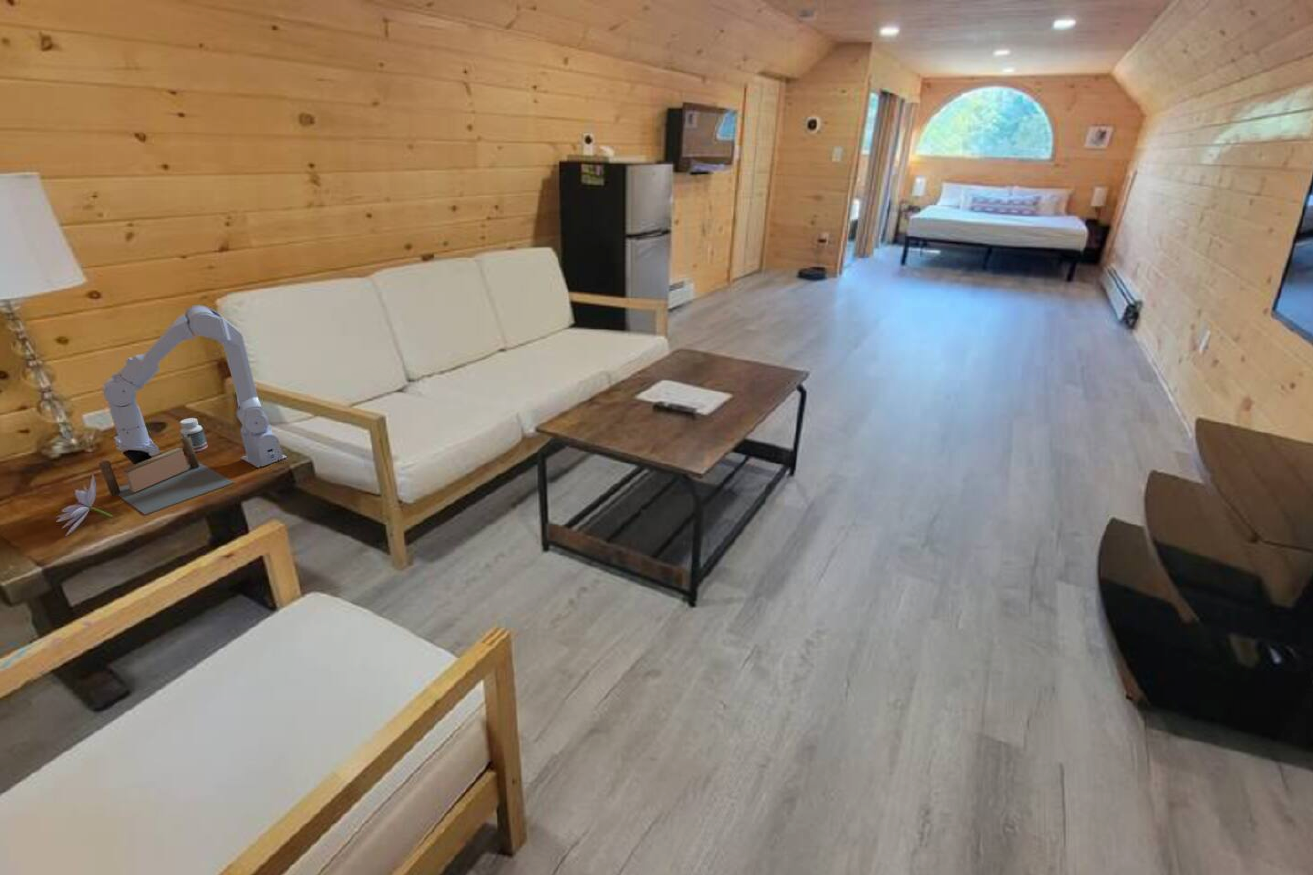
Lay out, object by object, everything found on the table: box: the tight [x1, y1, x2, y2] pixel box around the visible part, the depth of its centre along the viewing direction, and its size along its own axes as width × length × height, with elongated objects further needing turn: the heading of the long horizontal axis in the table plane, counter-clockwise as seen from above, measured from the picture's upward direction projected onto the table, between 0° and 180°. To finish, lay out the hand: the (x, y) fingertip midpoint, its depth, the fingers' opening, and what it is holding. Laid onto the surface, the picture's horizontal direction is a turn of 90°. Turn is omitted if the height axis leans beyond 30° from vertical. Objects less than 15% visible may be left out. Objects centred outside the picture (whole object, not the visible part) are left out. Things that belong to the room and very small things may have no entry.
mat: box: [117, 461, 235, 516], centre depth 164 cm, size 20×20×1 cm
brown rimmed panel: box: [122, 446, 189, 492], centre depth 164 cm, size 14×1×7 cm, turn 160°
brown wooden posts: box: [98, 437, 199, 497], centre depth 164 cm, size 2×20×9 cm, turn 147°
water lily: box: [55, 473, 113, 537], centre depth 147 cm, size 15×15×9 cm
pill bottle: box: [179, 417, 208, 453], centre depth 182 cm, size 5×5×9 cm
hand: (146, 474), depth 163 cm, fingers closed
